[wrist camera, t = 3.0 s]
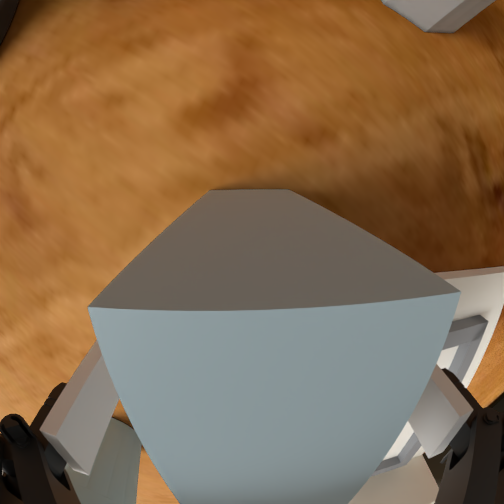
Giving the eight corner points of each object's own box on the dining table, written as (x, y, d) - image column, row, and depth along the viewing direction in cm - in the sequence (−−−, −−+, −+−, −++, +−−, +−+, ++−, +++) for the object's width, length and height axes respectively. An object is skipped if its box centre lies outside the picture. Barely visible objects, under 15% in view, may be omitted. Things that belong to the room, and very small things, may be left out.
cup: (139, 413, 19) (109, 518, 9) (162, 456, 21) (147, 541, 11) (68, 400, 18) (26, 482, 8) (98, 445, 21) (74, 517, 11)
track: (352, 278, 15) (442, 382, 7) (504, 266, 16) (576, 310, 7) (301, 484, 24) (312, 543, 15) (413, 455, 25) (435, 502, 16)
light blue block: (209, 190, 14) (87, 306, 2) (288, 189, 14) (461, 291, 2) (223, 394, 18) (219, 550, 7) (279, 392, 18) (304, 545, 7)
